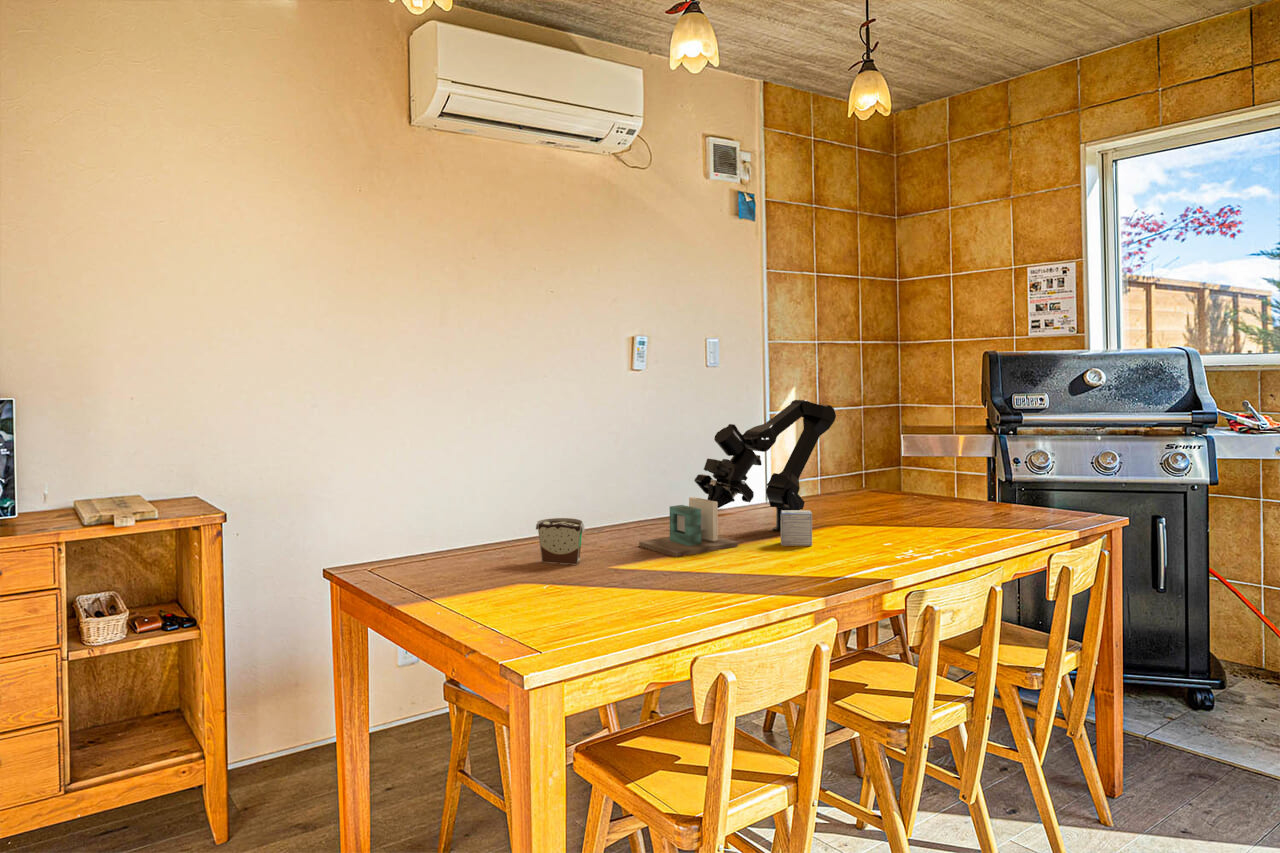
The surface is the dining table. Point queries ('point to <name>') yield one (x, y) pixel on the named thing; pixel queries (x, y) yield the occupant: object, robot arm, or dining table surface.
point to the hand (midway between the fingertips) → (706, 512)
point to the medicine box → (796, 528)
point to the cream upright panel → (703, 518)
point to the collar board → (686, 549)
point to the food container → (560, 540)
